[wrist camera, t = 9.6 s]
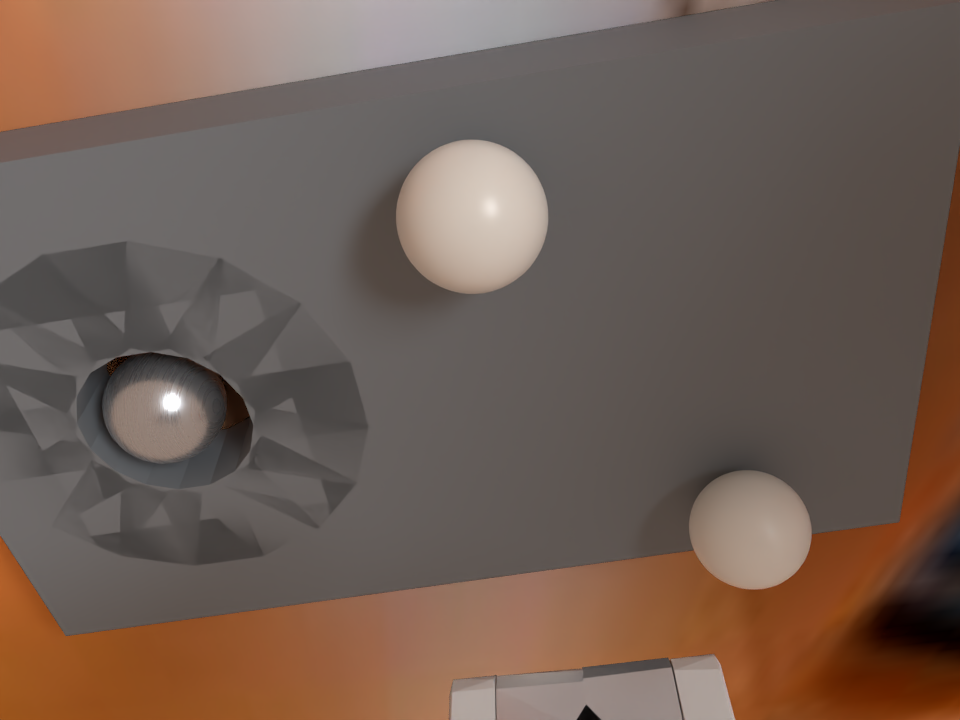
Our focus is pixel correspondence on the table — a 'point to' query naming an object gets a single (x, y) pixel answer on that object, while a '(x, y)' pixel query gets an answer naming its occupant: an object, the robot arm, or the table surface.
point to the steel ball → (163, 407)
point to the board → (479, 310)
